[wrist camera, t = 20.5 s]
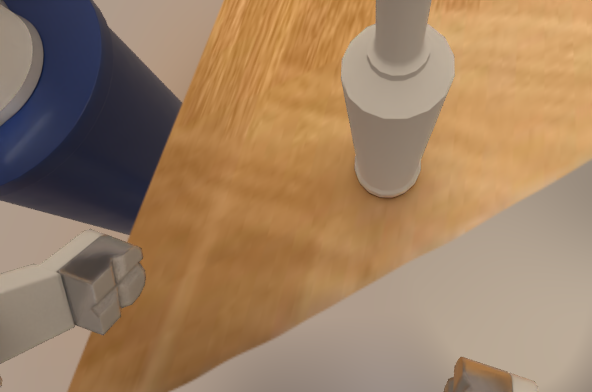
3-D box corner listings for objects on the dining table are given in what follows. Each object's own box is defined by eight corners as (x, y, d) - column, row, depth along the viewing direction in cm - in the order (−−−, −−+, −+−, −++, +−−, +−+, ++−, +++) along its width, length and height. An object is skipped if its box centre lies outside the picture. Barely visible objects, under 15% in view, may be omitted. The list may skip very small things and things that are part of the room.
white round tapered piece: (396, 128, 37) (438, -196, 13) (432, 178, 35) (556, -82, 11) (343, 161, 37) (285, -100, 13) (376, 212, 35) (382, 26, 11)
